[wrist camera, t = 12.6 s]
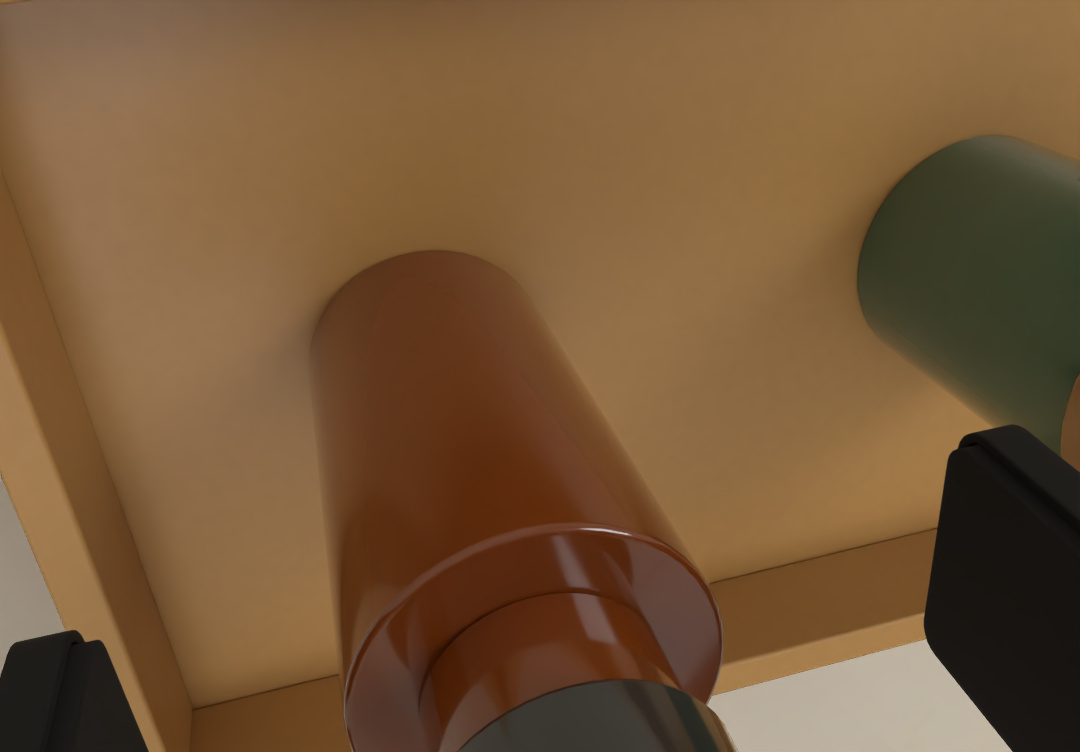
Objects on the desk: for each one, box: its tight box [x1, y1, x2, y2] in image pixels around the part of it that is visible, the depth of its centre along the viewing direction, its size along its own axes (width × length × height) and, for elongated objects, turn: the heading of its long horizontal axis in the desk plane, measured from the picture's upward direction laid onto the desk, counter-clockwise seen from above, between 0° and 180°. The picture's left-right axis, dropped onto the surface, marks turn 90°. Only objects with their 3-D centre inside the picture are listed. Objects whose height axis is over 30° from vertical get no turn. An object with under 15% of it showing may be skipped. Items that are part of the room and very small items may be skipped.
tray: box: [0, 0, 1080, 752], centre depth 19 cm, size 16×24×3 cm, turn 95°
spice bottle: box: [309, 250, 739, 752], centre depth 14 cm, size 4×4×11 cm
